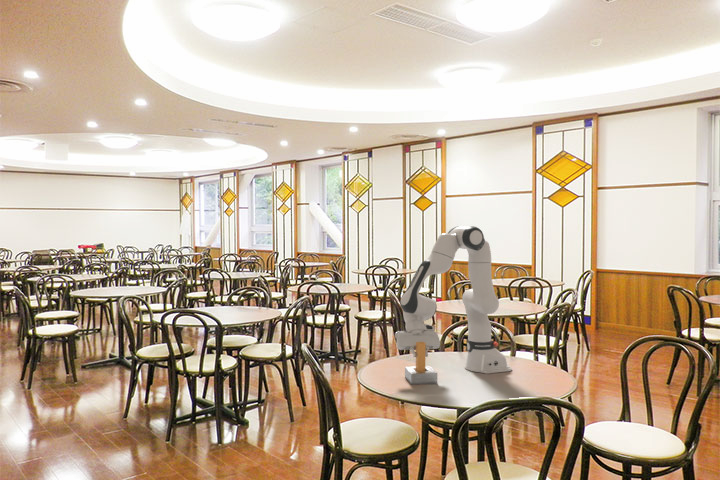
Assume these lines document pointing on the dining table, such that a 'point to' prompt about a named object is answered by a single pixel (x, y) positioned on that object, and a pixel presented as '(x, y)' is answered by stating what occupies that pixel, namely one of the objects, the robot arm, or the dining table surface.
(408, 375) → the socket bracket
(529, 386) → the dining table surface
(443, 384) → the dining table surface
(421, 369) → the rectangular peg
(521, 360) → the dining table surface
